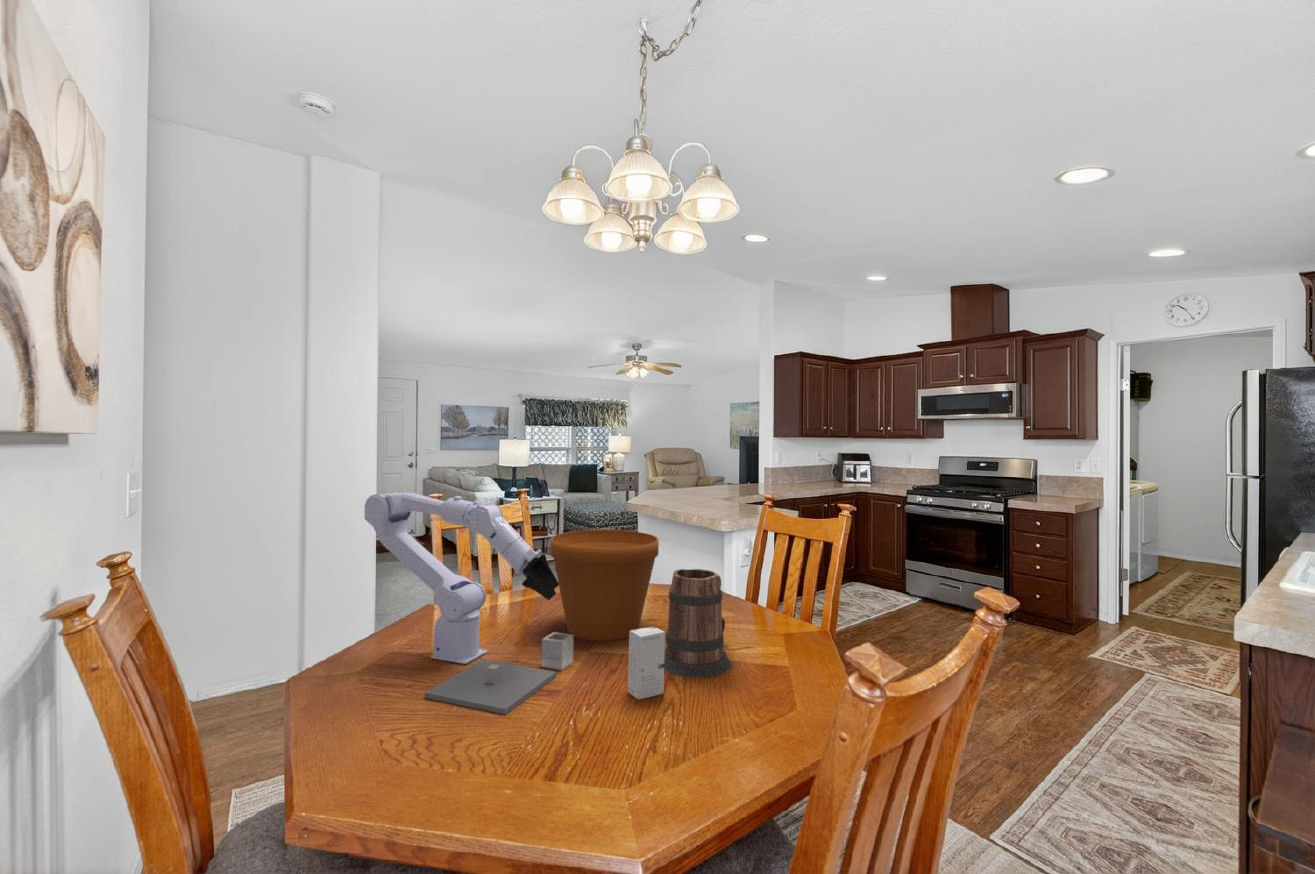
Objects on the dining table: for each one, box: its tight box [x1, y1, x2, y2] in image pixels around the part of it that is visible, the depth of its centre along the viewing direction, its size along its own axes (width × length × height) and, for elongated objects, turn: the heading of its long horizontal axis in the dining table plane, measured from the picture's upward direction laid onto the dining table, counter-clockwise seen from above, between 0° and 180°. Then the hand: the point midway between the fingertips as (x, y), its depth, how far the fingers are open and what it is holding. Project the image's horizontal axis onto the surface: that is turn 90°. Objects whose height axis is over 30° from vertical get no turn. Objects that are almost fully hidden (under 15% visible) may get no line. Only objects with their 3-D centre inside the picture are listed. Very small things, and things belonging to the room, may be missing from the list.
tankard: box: [664, 568, 733, 679], centre depth 134 cm, size 24×17×20 cm
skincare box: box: [627, 626, 666, 700], centre depth 115 cm, size 6×4×12 cm
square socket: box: [540, 631, 575, 671], centre depth 129 cm, size 5×5×6 cm
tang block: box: [423, 659, 557, 716], centre depth 117 cm, size 18×18×4 cm
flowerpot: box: [549, 529, 660, 641], centre depth 154 cm, size 28×28×24 cm
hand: (554, 592), depth 127 cm, fingers open, 7 cm apart
